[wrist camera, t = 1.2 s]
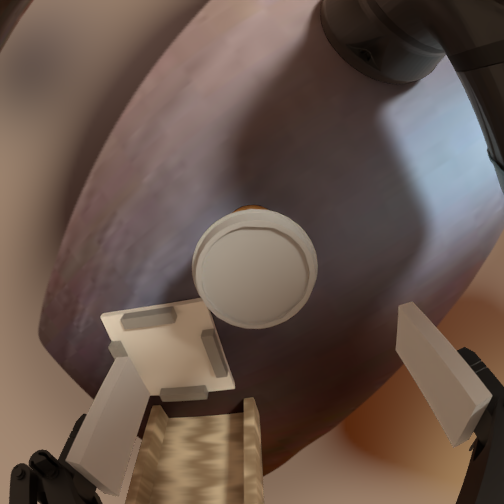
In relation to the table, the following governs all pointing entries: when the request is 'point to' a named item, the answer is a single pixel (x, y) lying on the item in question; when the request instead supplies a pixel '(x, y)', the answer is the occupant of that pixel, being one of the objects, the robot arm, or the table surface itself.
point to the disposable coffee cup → (254, 268)
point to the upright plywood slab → (199, 459)
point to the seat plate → (171, 349)
